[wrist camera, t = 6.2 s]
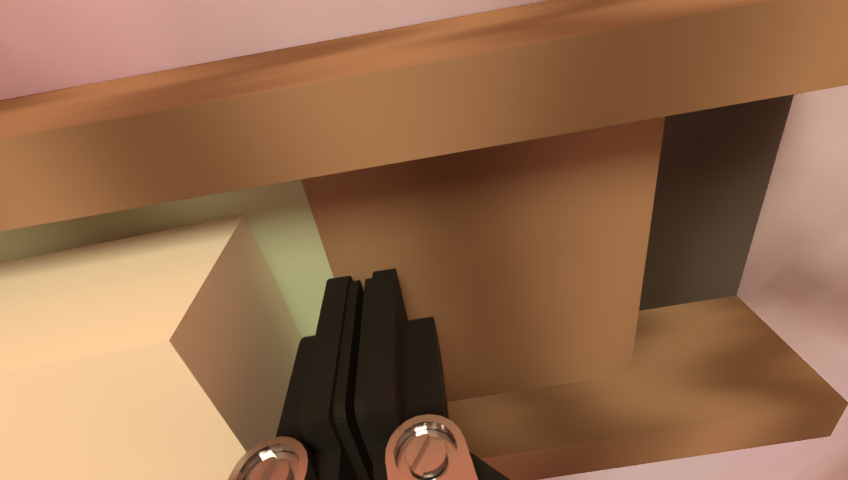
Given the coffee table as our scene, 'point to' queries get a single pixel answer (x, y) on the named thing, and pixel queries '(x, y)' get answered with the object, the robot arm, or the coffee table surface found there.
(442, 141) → the box
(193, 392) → the cream block
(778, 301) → the coffee table surface
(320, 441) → the robot arm
